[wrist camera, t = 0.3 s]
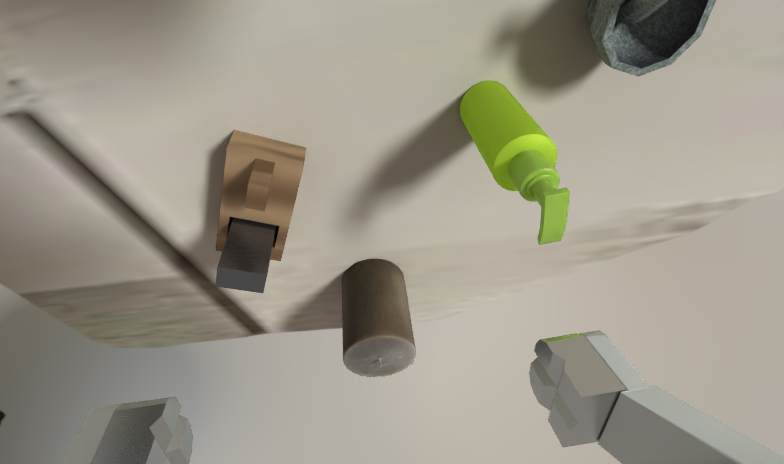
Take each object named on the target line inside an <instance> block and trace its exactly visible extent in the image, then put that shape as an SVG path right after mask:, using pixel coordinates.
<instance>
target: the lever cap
mask: <svg viewBox="0 0 784 464" xmlns="http://www.w3.org/2000/svg"><path fill="white" fill-rule="evenodd" d="M275 229H276V225H272V224H266V223H261V222H256V221H251V220H245V219H240V218H235V217H233V220H232V223H231V226H230V230H229V233H228V236H227V239H226V242H225V245H224V248H223V252H222V255H221V258H220V261H219V264H218V268H217V277H216V285H215V286H217V287H224V288H231V289H238V290H245V291H252V292H258V293H263V291H264V287H265V282H266V277H267V273H268V267H269V262H270V256H271V251H272V245H273V240H274V234H275Z"/></svg>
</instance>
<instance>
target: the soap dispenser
mask: <svg viewBox="0 0 784 464" xmlns="http://www.w3.org/2000/svg"><path fill="white" fill-rule="evenodd" d="M460 116H461V119H462V121H463V123H464V124H465V126H466V128H467V130H468V132H469V133H470V135H471V137H472V139H473V141H474V142H475V144H476V146H477V148H478V150H479V152H480V153H481V155H482V157H483V159H484V161H485V162H486V164H487V166H488V168H489V170H490V171H491V173H492V175H493V177H494V179H495V180H496V182H497V183H498V184H499V185H500V186H501V187H503V188H505V189H507V190H511V191H519V193H520V194H521V196H522V197H523V198H524V199H526V200H528V201H538V203H539V204H540V206H541V221H540V230H539V235H538V243H539V245H541V244H547V243H552V242H557V241H561V239H562V236H563V234H564V231H565V227H566V222H567V215H568V205H569V194H570V192H569V190H568V189H567V188H562V189H557V187H558V185H559V180H560V179H559V175H558V173H557V171H556V170H555V169H554V167H555V164H556V161H557V149H556V146H555V144H554V143H553V142H552V140H551V139H550V138H549V137H548V136H547V135H546V133H545V132H544V131H543V130H542V129H541V128H540V127H539V125H538V124H537V123H536V122H535V121H534V120H533V118H532V117H531V116H530V115H529V114H528V113H527V112H526V110H525V109H524V108H523V107H522V106H521V105H520V103H519V102H518V101H517V100H516V99H515V98H514V97H513V95H512V94H511V93H510V92H509V91H508V90H507V88H506V87H505V86H504V85H502V84H501V83H499V82H496V81H483V82H480V83H478V84H476V85H474V86H473V87H471V88H470V89H469V90H468V91H467V92H466V94H465V95H464V97H463V99H462V101H461V104H460ZM556 189H557V190H556Z"/></svg>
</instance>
